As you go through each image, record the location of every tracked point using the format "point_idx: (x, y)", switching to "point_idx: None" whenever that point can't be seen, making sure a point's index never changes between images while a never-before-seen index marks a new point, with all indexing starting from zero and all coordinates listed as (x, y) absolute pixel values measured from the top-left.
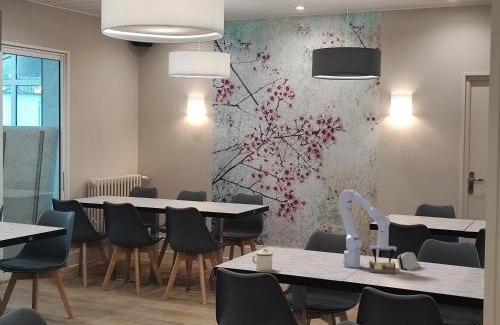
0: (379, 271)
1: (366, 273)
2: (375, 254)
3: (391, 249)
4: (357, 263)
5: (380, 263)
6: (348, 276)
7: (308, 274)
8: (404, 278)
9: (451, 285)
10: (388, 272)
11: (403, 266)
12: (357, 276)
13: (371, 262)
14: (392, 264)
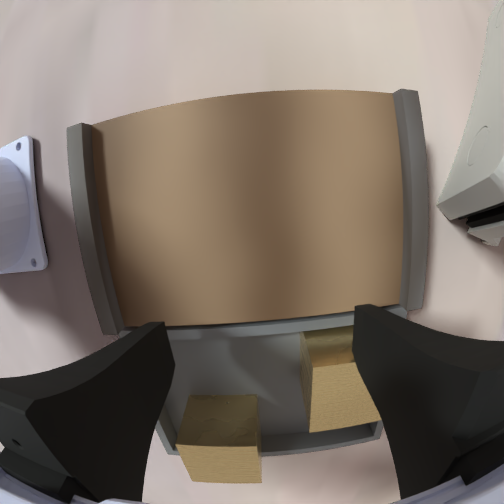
0: None
1: (158, 451)
2: (134, 468)
3: (480, 487)
4: (6, 261)
5: (222, 178)
6: None
7: (3, 447)
8: (384, 479)
9: None
10: (315, 436)
11: (482, 233)
12: (145, 494)
13: (99, 150)
14: (376, 415)
